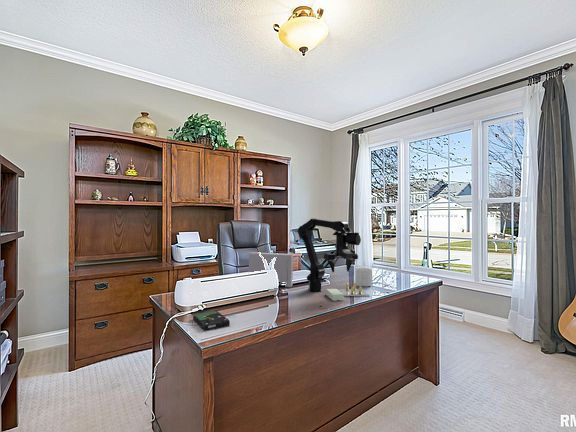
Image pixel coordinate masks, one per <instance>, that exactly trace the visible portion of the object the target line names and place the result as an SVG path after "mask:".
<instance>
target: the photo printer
mask: <svg viewBox="0 0 576 432" xmlns="http://www.w3.org/2000/svg"><path fill="white" fill-rule="evenodd" d="M355 283H356V287H359V286H361V287H368V286H373V270H372V267H369V266H358V267H356V270H355Z"/></svg>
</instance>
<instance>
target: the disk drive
mask: <svg viewBox="0 0 576 432" xmlns="http://www.w3.org/2000/svg"><path fill="white" fill-rule="evenodd" d="M192 320H193V321H194V322H195V324H197V326H199V328H200V329H202V331H204V332H207V331H212V330H217V329H222V328H223V329H224V328H226V327H230V326H231V325H230V324H231V323H230V321H231V320H230V319H228V318H227V317H226V316H224V315H223V314H221V312H219V311H218V310H211V311H205V312H201V313H197V314H196V313H194V315H192Z"/></svg>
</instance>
